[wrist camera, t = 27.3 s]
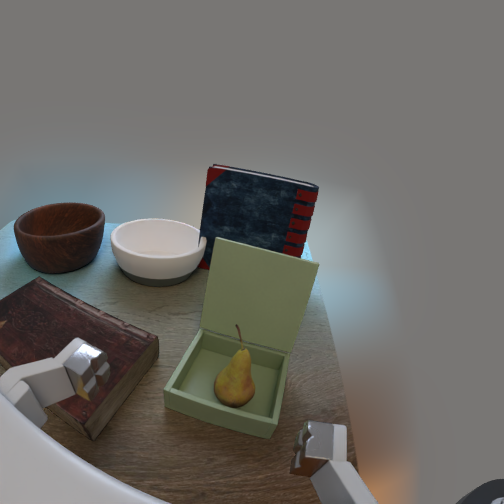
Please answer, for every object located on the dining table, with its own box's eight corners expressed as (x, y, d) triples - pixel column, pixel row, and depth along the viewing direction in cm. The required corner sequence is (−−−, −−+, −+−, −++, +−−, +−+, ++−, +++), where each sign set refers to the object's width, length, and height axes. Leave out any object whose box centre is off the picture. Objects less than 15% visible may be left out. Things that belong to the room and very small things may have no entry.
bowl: (215, 261, 74) (220, 231, 71) (177, 306, 54) (180, 269, 50) (143, 240, 77) (144, 212, 74) (92, 273, 57) (90, 239, 53)
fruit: (206, 408, 33) (215, 348, 28) (218, 379, 38) (229, 317, 34) (246, 419, 33) (266, 362, 28) (254, 389, 38) (274, 329, 33)
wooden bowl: (77, 290, 50) (72, 245, 46) (2, 268, 48) (-5, 229, 43) (120, 242, 73) (120, 207, 68) (52, 231, 70) (50, 198, 66)
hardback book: (159, 355, 41) (158, 333, 39) (94, 442, 24) (83, 424, 22) (44, 295, 45) (39, 274, 43) (-20, 342, 28) (-29, 319, 26)
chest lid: (319, 264, 37) (317, 256, 42) (215, 237, 39) (224, 232, 43) (290, 352, 41) (292, 338, 45) (199, 327, 43) (208, 315, 47)
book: (293, 274, 76) (317, 183, 66) (295, 287, 69) (322, 189, 59) (200, 256, 75) (213, 163, 65) (194, 268, 68) (207, 166, 58)
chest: (269, 439, 31) (277, 424, 29) (164, 406, 33) (163, 389, 31) (283, 371, 43) (290, 353, 41) (198, 346, 45) (200, 328, 43)
